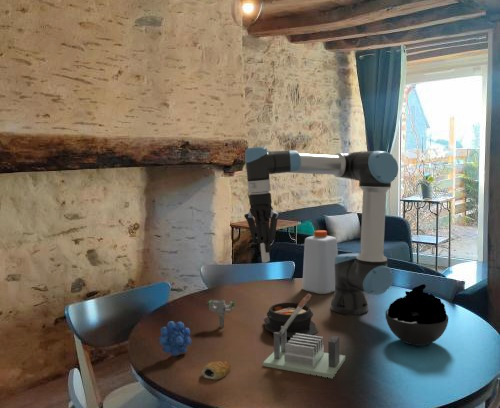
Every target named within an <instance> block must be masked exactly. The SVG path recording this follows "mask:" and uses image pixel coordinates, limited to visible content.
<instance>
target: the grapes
mask: <svg viewBox="0 0 500 408" xmlns="http://www.w3.org/2000/svg"><path fill="white" fill-rule="evenodd" d="M159 331H160V334H161V336H159V337H158V343H159V345H161V346H162V351H163V352H164V353H165V354H169V353H170V354H171V356H172V357H177V356H179V355H180V354H185V353H186V352H187V351H188V347H187V346H190V345H191V344H192V338H191V337H190V334H191V329H190V328H189V327H185V324H184V322H182V321H177V322H175V321H172V320H171V321H168V322H167V325H166V326H163V327H161V328H160V330H159Z"/></svg>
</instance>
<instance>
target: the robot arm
mask: <svg viewBox="0 0 500 408" xmlns="http://www.w3.org/2000/svg"><path fill="white" fill-rule="evenodd" d="M244 156H245V158H244V159H245V160H244V162H245V169H246V178H247V190H248V193H249V195H248V201H249V203H248V204H249V205H250V208H249V211H248V212H247V213H245V214H244V218H245V220H246V221H247V224H248V229H249V232H250V235H251V238H252V241H253V242H256V243H257V244H258V252H259V253H260V255H261V263H268V262H270V261H271V259H270V253H271V250H272V249H271V242H273V241H275V239H276V236H277V235H276V233H277V226H278V219H279V217H280V212H276V211H275V210H274V209H273V206H272V203H273V202H272V194H271V190H272V189H271V180H270V175H275V174H285V173H288V174H311V175H313V174H314V175H331V176H332V175H333V176H334V177H335V178H343V179H348V180H354V181H359V183H358V187H359V188H360V189H361V191H362V204H361V205H362V207H361V208H362V209H361V229H360V232H361V233H360V253H359V252H358V253H357V252H351V253H341V254H338V255H337V256H336V257H335V264H334V265H335V291H334V292H333V296H332V299H331V302H330V310H331V311H333V312H334V313H337V314H341V315H349V316H350V315H354V316H355V315H356V316H357V315H362V314H365V313H367V312H369V303H368V300H367V296H366V294H369V295H373V296H379V295H380V296H381V295H383V294H384V293H386V292H387V290H389V289H390V287H391V285H392V283H393V280H394V275H393V271H392V270H391V268H390V267H388V258H387V256H385V255H384V251H385V250H384V245H385V230H386V229H385V227H386V224H385V223H386V206H387V205H386V204H387V192H388V190H390V189H391V188H392V182H394V180H396V177H398V174H399V165H398V161H397V159H396V158H395V156H393V154H391V153H390V152H388V151H383V150H373V151H369V150H368V151H367V150H365V151H364V150H363V151H353V152H345V153H344V152H338V153H336V154H334V155H332V154H318V153H317V154H316V153H314V154H313V153H302V152H301V153H300V152H298V150H295V149H293V150H292V149H291V150H290V149H287V150H276V151H275V150H272V151H271V150H270V151H269V150H268V148H267V147H266V146H256V147H254V146H253V147H248V148H246V149H245V151H244ZM270 217H271V218H270Z"/></svg>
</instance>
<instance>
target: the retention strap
mask: <svg viewBox="0 0 500 408" xmlns="http://www.w3.org/2000/svg"><path fill="white" fill-rule="evenodd" d="M311 298H312V294H311V293H307V294H306V295H305V296H304V297H303V298H302V299H301V300H300V302H298V303H299V304H298V307H297V308H296V310H295V311H294V312H293V314H292V315H291V317H290V318H289V319H288V321H287V322H286V323H285V325H284V326H283V328H282V329H281V330H280V332H279V333H280V338H281V336H282V335H283V334H284V332H285V331H286V330H287V328H288V327H289V326H290V324H291V323H292V321H293V320H294V319H295V317H296V316H297V315H298V313H299V312H300V310H301V309H302V308H303V306H304V305H307V303H308V302H309V301H310V299H311Z"/></svg>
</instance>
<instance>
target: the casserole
mask: <svg viewBox="0 0 500 408" xmlns="http://www.w3.org/2000/svg"><path fill="white" fill-rule="evenodd" d="M299 303H300V302H292V301H291V302H281V303H275V304H273V305H271V306H270V307H269V309H268V311H267V312H266V316H267V317H265V318H264V319H263V321H264V327H265V329H266V331H269V332H270V333H273V334H274V332H278V333H279V332H280V330H281V326H284V325H285V323H286V322H287V321H288V319H289V318H290V317H291V315H292V314H293V312H294V311H295V310H296V308H297V307H298V304H299ZM313 316H314V312H313V311H312V310H311V307H310V306H308V305H307V304H305V305H304V306H303V308H302V309H301V310H300V312H299V313H298V315H297V316H296V317H295V319H294V320H293V321H292V323H291V324H290V326H289V327H288V328H287V338H289V339H291V338H293V336H295V334H296V333H299V334H306V335H313V336H316V335H317V334H318V333H319V330H318V328H317V326H316V323H315V322H314V321H312V318H313Z"/></svg>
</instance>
